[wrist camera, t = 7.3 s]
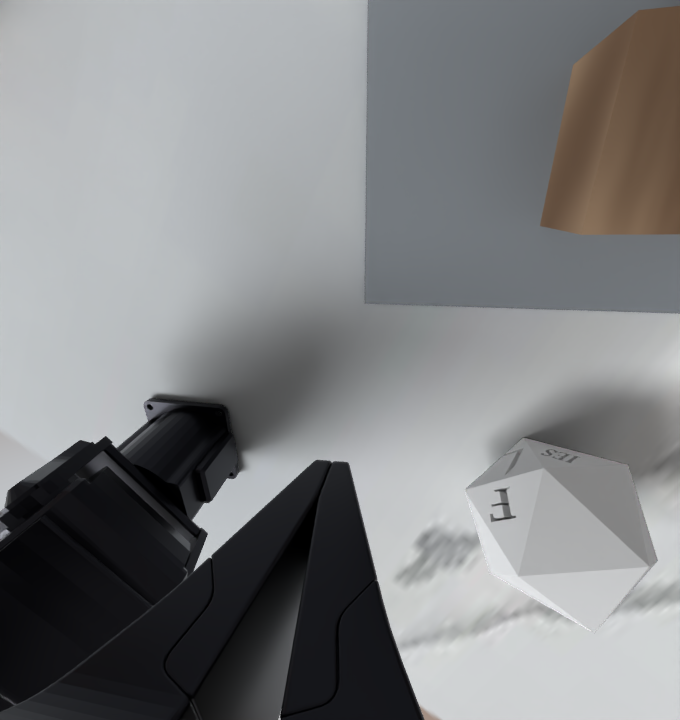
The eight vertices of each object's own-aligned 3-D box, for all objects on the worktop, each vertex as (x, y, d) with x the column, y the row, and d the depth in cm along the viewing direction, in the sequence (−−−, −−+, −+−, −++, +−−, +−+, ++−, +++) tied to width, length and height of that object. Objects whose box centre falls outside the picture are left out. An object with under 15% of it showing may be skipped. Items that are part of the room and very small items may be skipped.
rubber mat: (365, 301, 20) (364, 303, 19) (369, -41, 14) (368, -45, 14) (716, 312, 17) (721, 314, 16) (910, -120, 11) (923, -128, 11)
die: (603, 399, 20) (542, 466, 14) (711, 544, 18) (696, 700, 12) (490, 442, 26) (412, 502, 20) (560, 555, 24) (498, 662, 18)
